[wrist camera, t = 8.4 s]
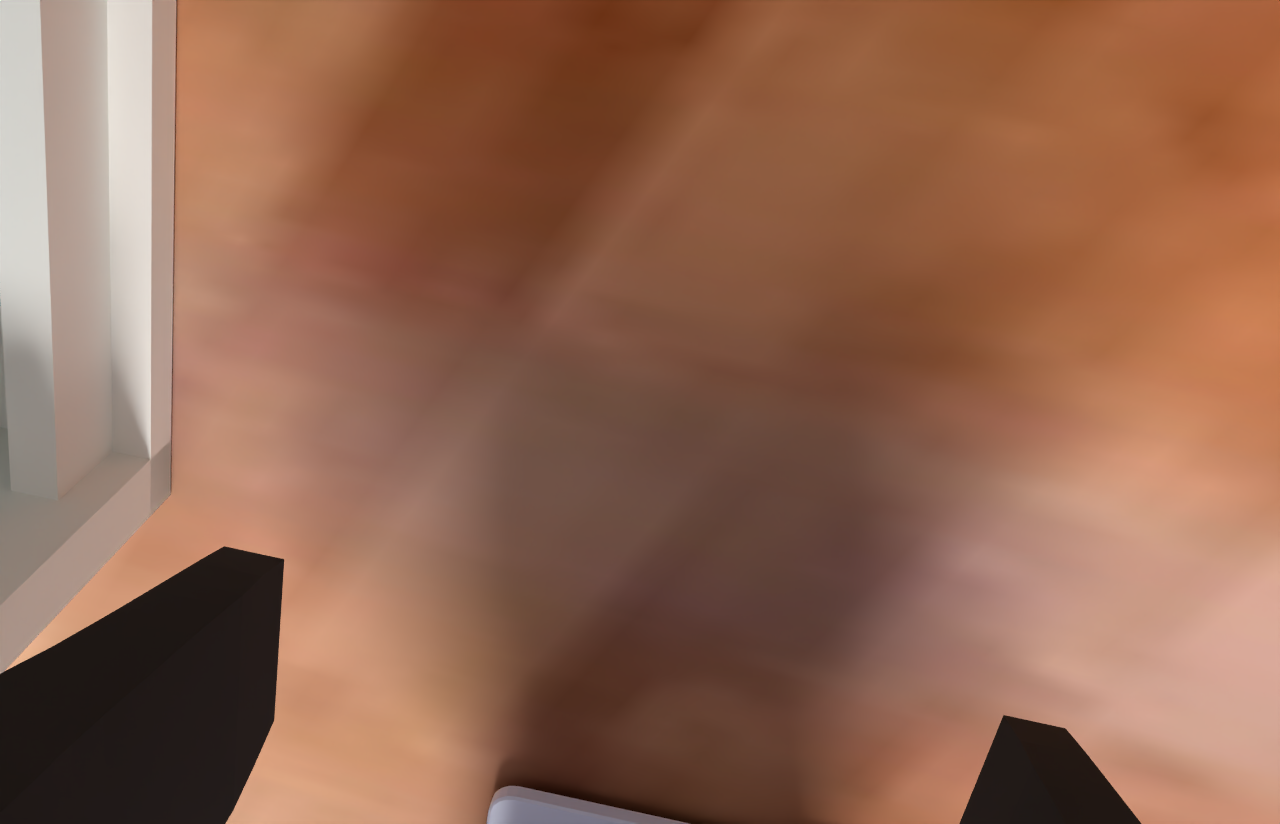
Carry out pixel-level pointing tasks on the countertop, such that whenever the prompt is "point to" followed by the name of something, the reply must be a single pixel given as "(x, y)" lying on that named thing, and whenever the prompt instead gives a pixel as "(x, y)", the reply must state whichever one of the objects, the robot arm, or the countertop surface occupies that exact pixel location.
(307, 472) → the countertop surface
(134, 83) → the track
